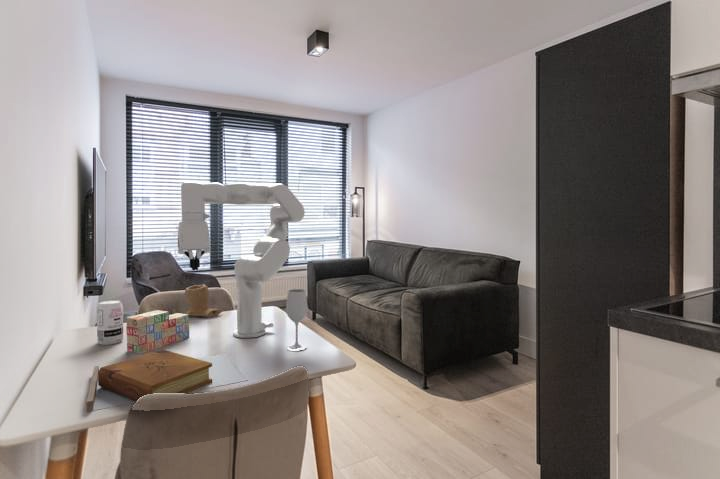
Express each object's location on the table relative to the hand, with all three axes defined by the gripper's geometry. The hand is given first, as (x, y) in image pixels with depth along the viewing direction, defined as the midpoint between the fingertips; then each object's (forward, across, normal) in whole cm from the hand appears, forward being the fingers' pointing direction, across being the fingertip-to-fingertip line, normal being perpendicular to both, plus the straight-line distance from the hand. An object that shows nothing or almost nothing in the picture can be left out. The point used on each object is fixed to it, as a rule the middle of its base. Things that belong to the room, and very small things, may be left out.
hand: (194, 269), depth 140 cm
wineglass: (+29, -31, +18) cm, 46 cm away
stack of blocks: (+29, +11, -12) cm, 33 cm away
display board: (+28, +12, +23) cm, 38 cm away
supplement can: (+28, +26, -24) cm, 45 cm away
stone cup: (+29, -11, -49) cm, 58 cm away
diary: (+28, +15, +28) cm, 42 cm away
